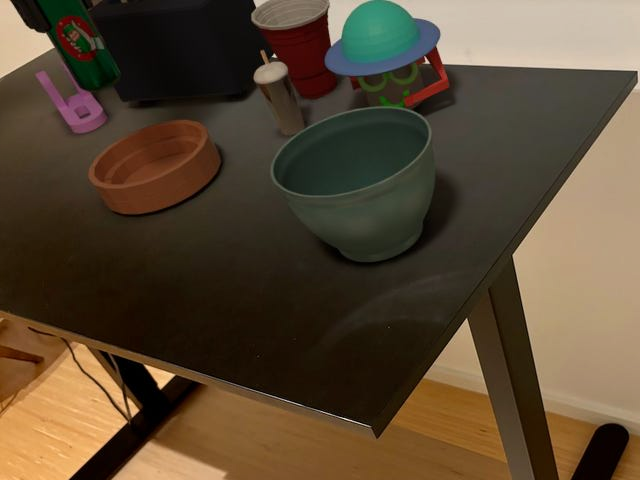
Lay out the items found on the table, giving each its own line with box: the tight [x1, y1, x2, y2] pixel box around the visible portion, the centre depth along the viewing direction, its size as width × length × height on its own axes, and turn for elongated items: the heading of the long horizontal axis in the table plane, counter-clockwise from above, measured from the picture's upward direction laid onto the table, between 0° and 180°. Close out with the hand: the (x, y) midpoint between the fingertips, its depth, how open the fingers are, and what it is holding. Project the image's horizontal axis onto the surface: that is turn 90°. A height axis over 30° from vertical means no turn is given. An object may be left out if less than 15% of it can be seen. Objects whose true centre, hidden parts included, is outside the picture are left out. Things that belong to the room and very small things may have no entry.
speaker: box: [89, 0, 275, 106], centre depth 110 cm, size 22×13×15 cm, turn 77°
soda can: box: [34, 0, 122, 93], centre depth 80 cm, size 5×5×12 cm
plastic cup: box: [251, 0, 338, 100], centre depth 102 cm, size 11×11×12 cm
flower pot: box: [269, 106, 436, 263], centre depth 74 cm, size 16×16×11 cm
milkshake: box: [253, 50, 306, 137], centre depth 96 cm, size 4×5×10 cm
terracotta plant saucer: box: [87, 119, 222, 215], centre depth 94 cm, size 16×16×4 cm
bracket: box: [34, 61, 109, 134], centre depth 113 cm, size 13×6×7 cm, turn 36°
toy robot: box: [325, 0, 451, 111], centre depth 92 cm, size 15×15×14 cm
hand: (65, 18), depth 79 cm, fingers closed on soda can, 5 cm apart
